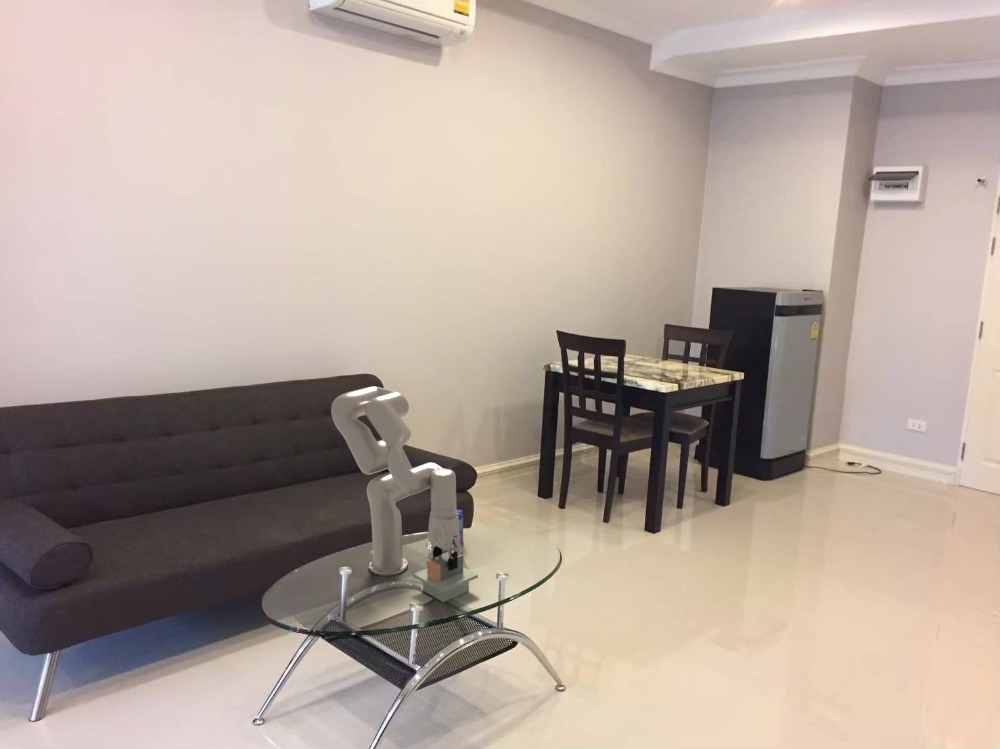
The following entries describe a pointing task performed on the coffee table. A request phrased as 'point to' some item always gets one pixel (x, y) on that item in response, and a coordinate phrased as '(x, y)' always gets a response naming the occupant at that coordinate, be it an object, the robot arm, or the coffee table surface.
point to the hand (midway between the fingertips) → (445, 564)
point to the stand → (446, 584)
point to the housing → (442, 567)
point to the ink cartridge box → (460, 524)
